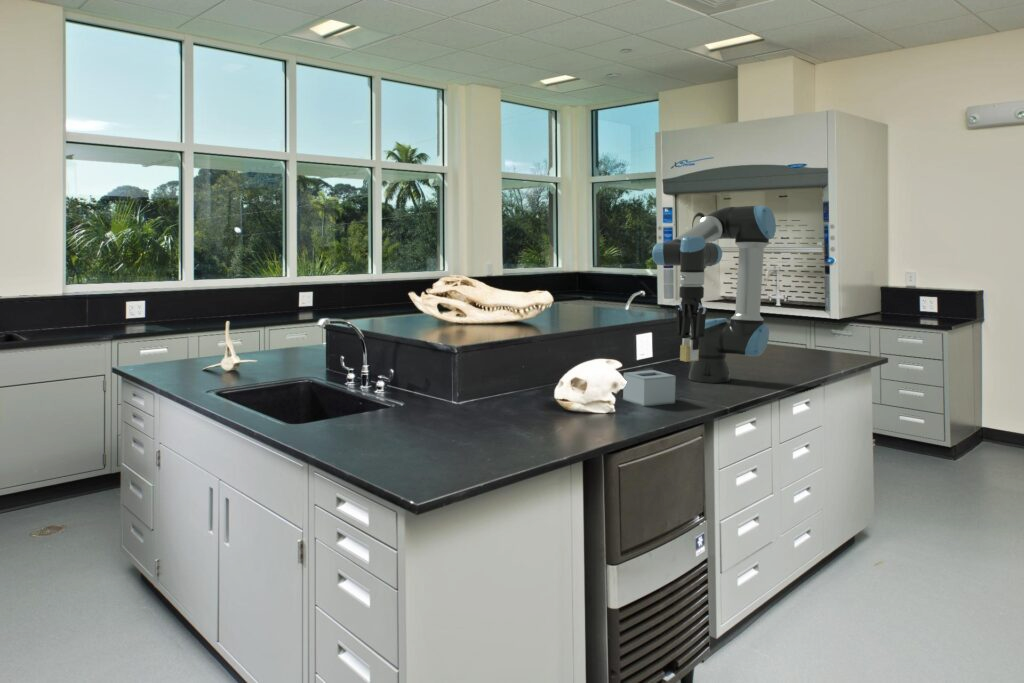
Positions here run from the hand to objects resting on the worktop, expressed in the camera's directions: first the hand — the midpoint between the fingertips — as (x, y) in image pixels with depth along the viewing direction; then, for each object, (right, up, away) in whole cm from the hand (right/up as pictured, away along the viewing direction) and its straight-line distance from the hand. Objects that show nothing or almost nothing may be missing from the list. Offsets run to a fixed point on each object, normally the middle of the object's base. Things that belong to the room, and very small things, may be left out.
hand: (689, 358), depth 242 cm
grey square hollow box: (-12, -14, +5) cm, 19 cm away
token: (0, -1, 0) cm, 1 cm away
